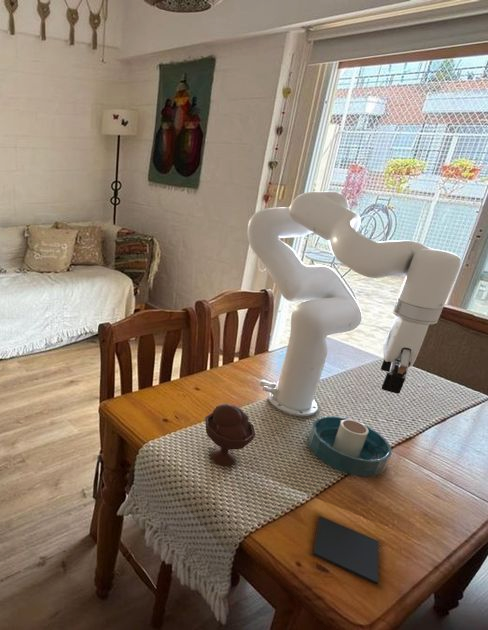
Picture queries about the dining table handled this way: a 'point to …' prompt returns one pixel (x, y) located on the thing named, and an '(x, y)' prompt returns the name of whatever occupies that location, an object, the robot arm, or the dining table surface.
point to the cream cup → (350, 438)
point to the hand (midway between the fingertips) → (389, 380)
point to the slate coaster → (347, 549)
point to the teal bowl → (366, 465)
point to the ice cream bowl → (228, 432)
